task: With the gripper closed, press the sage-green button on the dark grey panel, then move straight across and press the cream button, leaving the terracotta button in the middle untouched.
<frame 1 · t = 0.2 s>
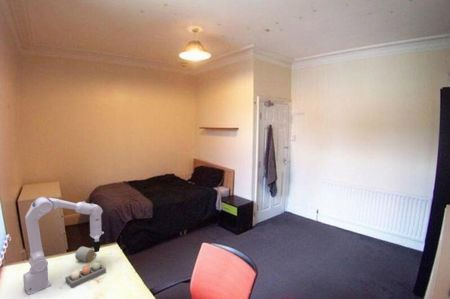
hand: (96, 248, 141), 10 cm above the table, fingers open, 7 cm apart
button terracotta: (86, 270, 130), point 4 cm above the table, slide at 0.0 cm
panel: (86, 277, 130), on the table
button cream: (75, 275, 126), point 4 cm above the table, slide at 0.0 cm
button sage: (96, 266, 134), point 4 cm above the table, slide at 0.0 cm
ceramic mug: (87, 259, 148), on the table
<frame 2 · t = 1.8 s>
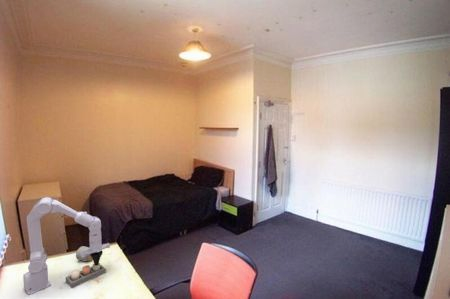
hand: (96, 264, 134), 5 cm above the table, fingers closed, pressing on button sage
button sage: (96, 268, 134), point 3 cm above the table, slide at 0.9 cm, touching gripper
everything else where it was.
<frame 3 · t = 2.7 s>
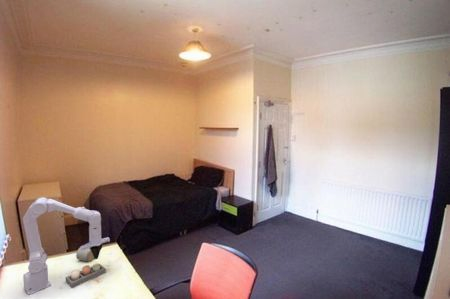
hand: (96, 258, 133), 8 cm above the table, fingers closed
button sage: (96, 269, 134), point 2 cm above the table, slide at 1.4 cm
everything else where it was.
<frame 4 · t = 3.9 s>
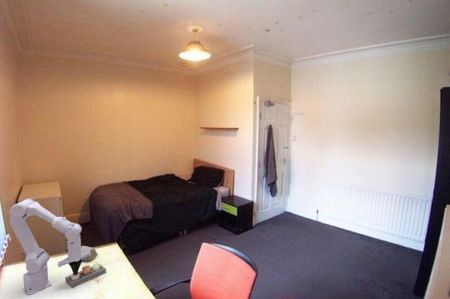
hand: (75, 274, 126), 4 cm above the table, fingers closed, pressing on button cream
button cream: (75, 277, 126), point 2 cm above the table, slide at 1.4 cm, touching gripper
everything else where it was.
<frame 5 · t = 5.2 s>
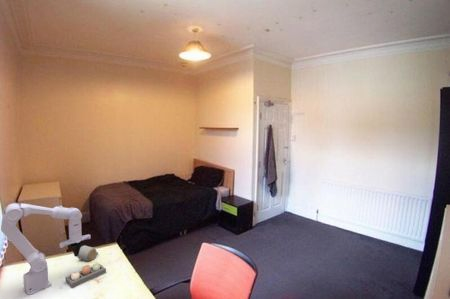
hand: (76, 255, 132), 10 cm above the table, fingers closed
button cream: (75, 277, 126), point 2 cm above the table, slide at 1.4 cm
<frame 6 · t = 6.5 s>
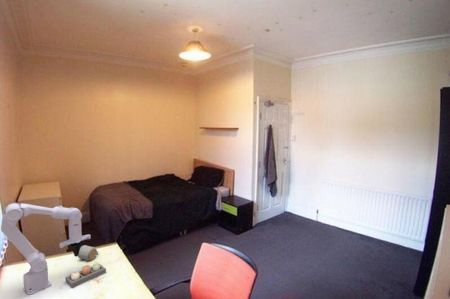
hand: (76, 255, 132), 10 cm above the table, fingers closed
at the end: button sage slide at 1.4 cm; button cream slide at 1.4 cm; button terracotta slide at 0.0 cm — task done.
